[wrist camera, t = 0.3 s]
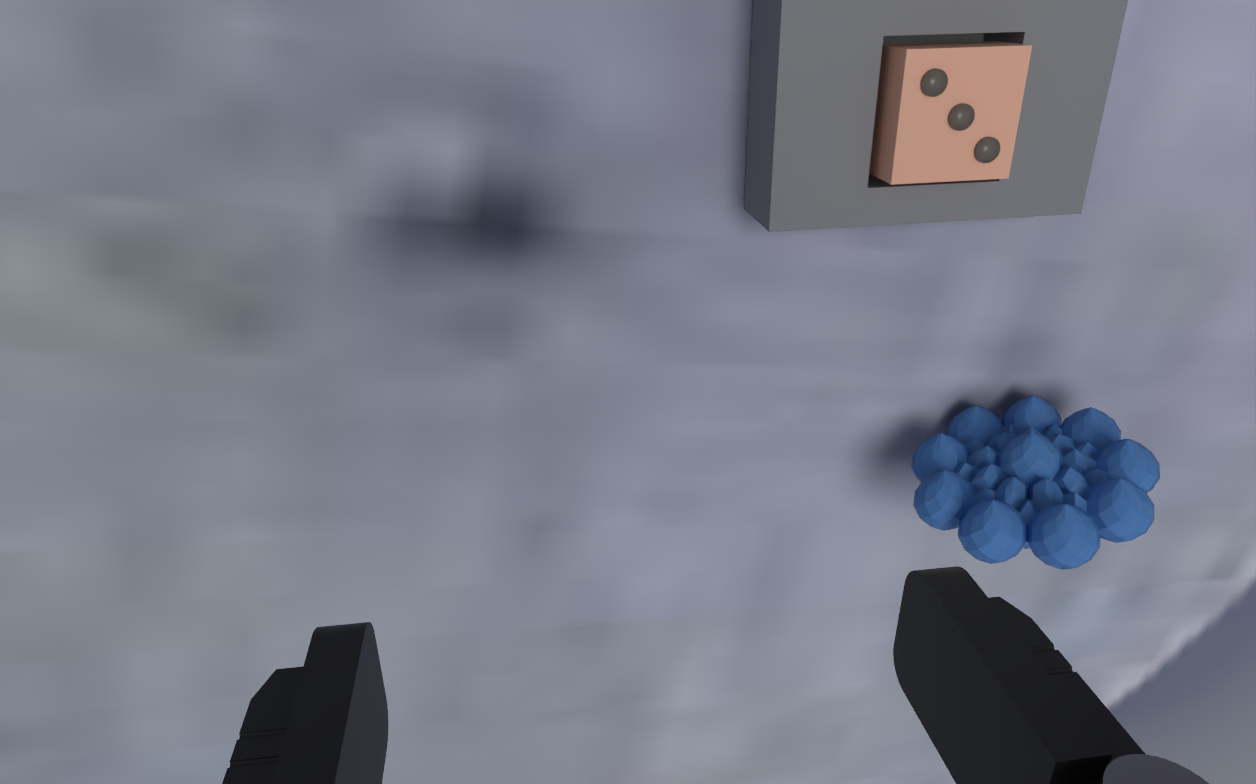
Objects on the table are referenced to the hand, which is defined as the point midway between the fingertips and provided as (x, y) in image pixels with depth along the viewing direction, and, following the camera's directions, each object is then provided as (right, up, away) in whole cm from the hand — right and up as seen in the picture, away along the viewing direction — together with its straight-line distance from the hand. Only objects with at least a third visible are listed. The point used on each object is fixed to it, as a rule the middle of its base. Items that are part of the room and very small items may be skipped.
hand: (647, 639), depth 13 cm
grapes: (+18, +2, +33) cm, 38 cm away
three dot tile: (+12, +15, +22) cm, 30 cm away
